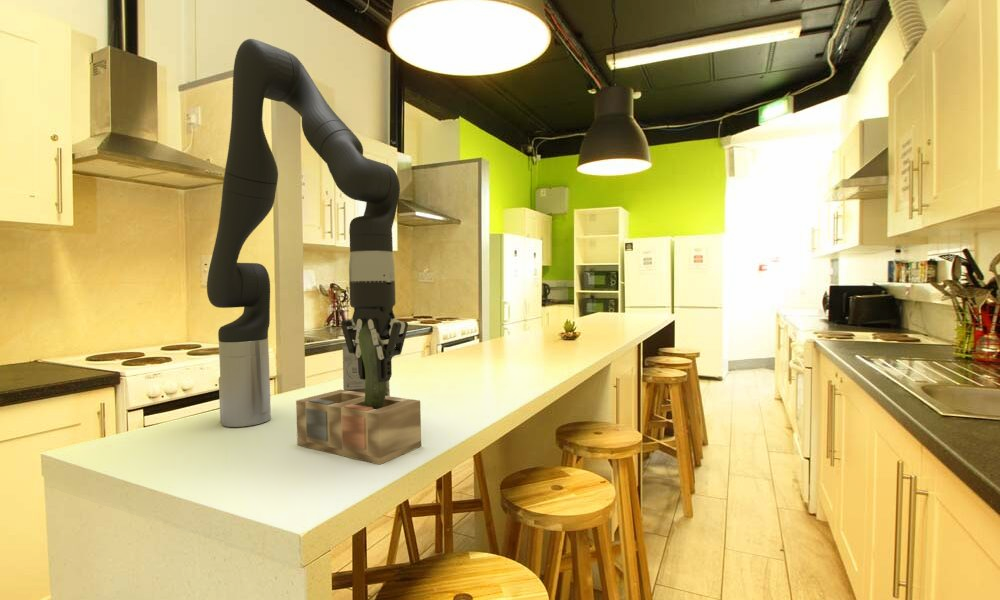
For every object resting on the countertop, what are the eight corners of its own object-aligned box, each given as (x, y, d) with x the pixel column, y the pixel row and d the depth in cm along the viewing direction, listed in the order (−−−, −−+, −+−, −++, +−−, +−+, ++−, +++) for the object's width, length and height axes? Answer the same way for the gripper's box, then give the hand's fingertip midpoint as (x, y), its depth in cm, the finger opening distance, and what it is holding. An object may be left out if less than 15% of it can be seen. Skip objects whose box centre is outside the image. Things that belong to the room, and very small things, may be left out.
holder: (296, 445, 89) (294, 399, 89) (341, 430, 98) (340, 388, 98) (378, 465, 79) (377, 412, 79) (421, 446, 88) (420, 398, 87)
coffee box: (372, 426, 100) (370, 346, 100) (343, 425, 102) (340, 345, 101) (391, 414, 109) (389, 340, 109) (364, 413, 111) (362, 340, 110)
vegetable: (393, 412, 87) (388, 297, 87) (379, 419, 83) (374, 299, 83) (371, 411, 89) (366, 298, 88) (356, 417, 85) (351, 299, 84)
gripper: (325, 280, 86) (329, 380, 86) (387, 278, 78) (390, 388, 79) (359, 279, 92) (361, 373, 93) (419, 278, 85) (421, 379, 85)
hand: (375, 379), depth 86 cm, fingers closed on vegetable, 3 cm apart
